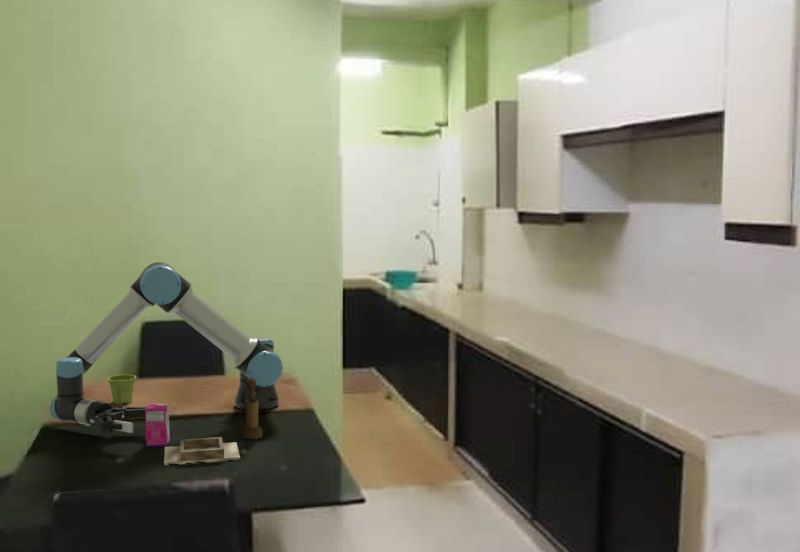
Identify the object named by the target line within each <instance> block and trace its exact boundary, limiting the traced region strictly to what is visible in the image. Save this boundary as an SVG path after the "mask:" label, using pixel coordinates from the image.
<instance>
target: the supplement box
mask: <svg viewBox="0 0 800 552" xmlns="http://www.w3.org/2000/svg"><path fill="white" fill-rule="evenodd" d="M145 407H146V409H145V417H144V418H145V421H144V422H145V439H146V448H165V447H168V445H169V443H170V441H171V439H170V438H171V436H170V415H169V414H170V413H169V412H170V410H169V403H168V402H166V403H149V404H148V405H147V406H145Z"/></svg>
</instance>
